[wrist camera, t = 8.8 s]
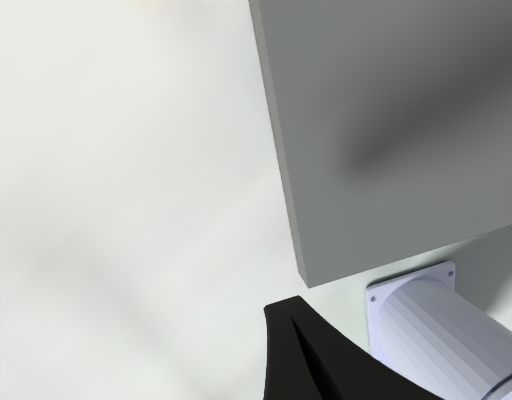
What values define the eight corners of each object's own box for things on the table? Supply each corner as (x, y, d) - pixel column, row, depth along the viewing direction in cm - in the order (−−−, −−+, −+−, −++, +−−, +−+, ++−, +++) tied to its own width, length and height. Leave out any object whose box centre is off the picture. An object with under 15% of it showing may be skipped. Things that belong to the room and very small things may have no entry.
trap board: (584, 185, 24) (646, 197, 21) (298, 272, 21) (317, 302, 18) (638, -79, 18) (736, -121, 15) (246, -10, 15) (260, -45, 12)
